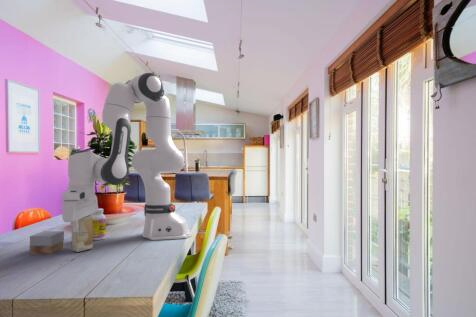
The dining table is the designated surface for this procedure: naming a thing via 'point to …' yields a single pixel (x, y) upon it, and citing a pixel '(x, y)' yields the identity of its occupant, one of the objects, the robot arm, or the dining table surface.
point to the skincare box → (83, 235)
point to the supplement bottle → (99, 225)
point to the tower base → (46, 249)
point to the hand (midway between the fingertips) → (82, 229)
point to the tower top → (46, 238)
